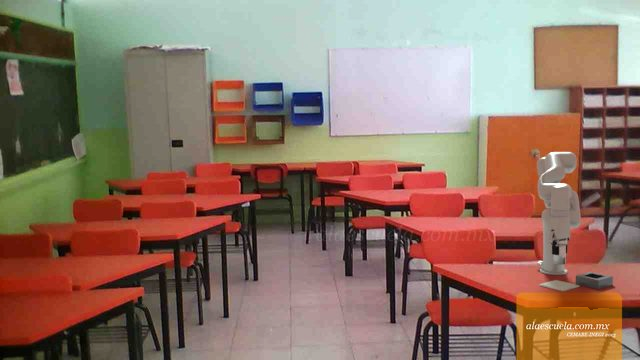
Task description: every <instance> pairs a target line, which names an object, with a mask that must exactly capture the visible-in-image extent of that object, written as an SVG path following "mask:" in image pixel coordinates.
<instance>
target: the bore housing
mask: <svg viewBox="0 0 640 360" xmlns="http://www.w3.org/2000/svg"><path fill="white" fill-rule="evenodd" d="M613 283H614V276H612V275H609V274H605V273H604V274H603V273H599V272H594V271H587V272H583V273H580V274H576V275H575V285H579V286H583V287H587V288H590V289H595V290H601V289H604V288H608V287H611V286H613Z"/></svg>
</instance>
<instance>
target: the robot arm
mask: <svg viewBox="0 0 640 360" xmlns="http://www.w3.org/2000/svg"><path fill="white" fill-rule="evenodd" d="M577 164H578V159H577V156H576V154H575V153H574V152H571V151H553V152H549V153H548V154H546V155H545V156H544V157H540V158H538V160H537V161H536V170H537V171H536V172H537V175H538V180H537V195H538V197H539V198H540V199H541V200H543V205H544V206H545V209H544V210H543V211H542V212H541V221H542V229H543V230H542V232H543V233H542V235H543V236H542V237H543V245H542V246H543V253H542V254H543V255H542V256H543V258H542V260H538V261H537V262H536V265H537V266H539V267H540V266H541V267H540V268H539V272H540V273H542V274H545V275H549V276H550V275H551V276H562V275H563V276H564V275H567V274H568V269H566V268H565V264H563V265H559V264H554V255H559V246H558V244H559V240H560V239H565V240H567V244H566V254H568V244H569V241H570V238H571V237H572V235H571V229H576V228H579V227H580V226H581V224H582V223H581V222H582V217H581V209H580V200H579V199H580V198H579V195H578V192H576V191H575V190H573V189H572V186H570V185H569V184H568V183H561V181H562V180H563V179H565V176H566V174H572V173H573V172H574V171H575V170H576V168H577ZM554 240H556V242H555V241H554Z"/></svg>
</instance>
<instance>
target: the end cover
mask: <svg viewBox="0 0 640 360" xmlns="http://www.w3.org/2000/svg"><path fill="white" fill-rule="evenodd" d="M554 241H555V242H556V240H554ZM566 244H567V240H565V239H560V240H559V244H558V246H559V255H554V264H559V265H563V264H564V265H566V264H567V263H566V259H567V258H566V257H567V256H566V255H567V253H566ZM567 245H568V244H567Z"/></svg>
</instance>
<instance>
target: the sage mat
mask: <svg viewBox="0 0 640 360" xmlns="http://www.w3.org/2000/svg"><path fill="white" fill-rule="evenodd" d="M538 286H539V287H544V288H548V289H552V290H556V291H559V292H567V291H570V290H573V289H576V288H580V285H577V284H576V283H570V282H566V281H562V280H557V279H554V280H551V281H545V282H543V283H539V284H538Z"/></svg>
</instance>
